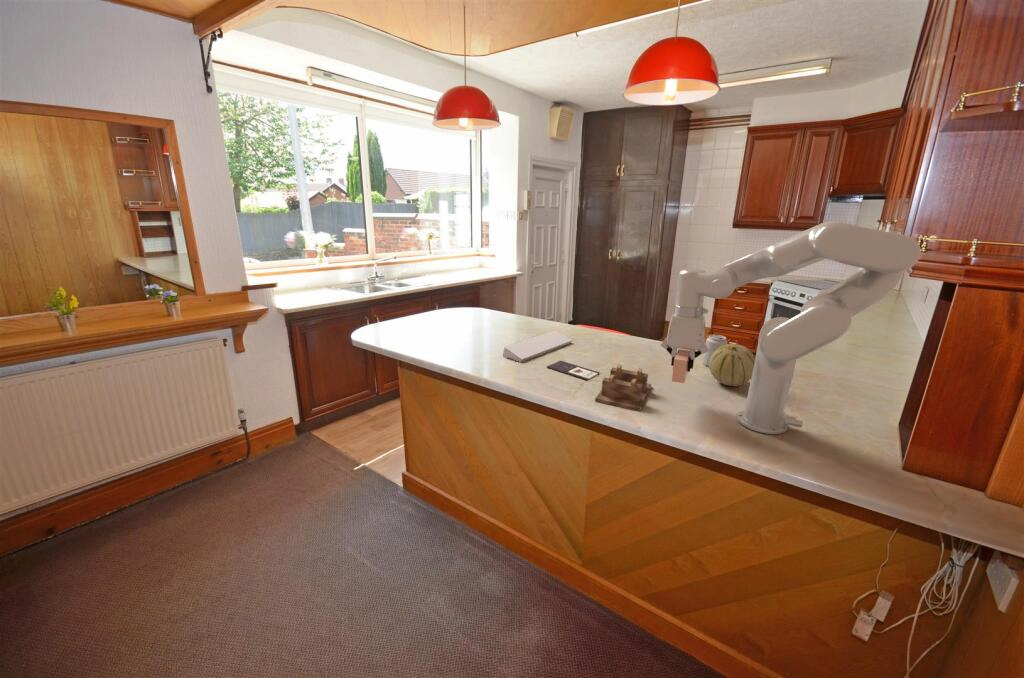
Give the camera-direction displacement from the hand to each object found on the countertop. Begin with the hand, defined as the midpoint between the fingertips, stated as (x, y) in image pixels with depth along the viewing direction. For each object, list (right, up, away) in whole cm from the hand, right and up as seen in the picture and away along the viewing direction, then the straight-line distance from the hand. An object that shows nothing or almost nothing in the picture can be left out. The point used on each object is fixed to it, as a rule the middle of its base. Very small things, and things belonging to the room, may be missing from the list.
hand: (681, 368), depth 128 cm
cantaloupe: (+25, -7, +20) cm, 32 cm away
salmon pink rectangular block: (0, -1, 0) cm, 1 cm away
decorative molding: (-41, +4, +53) cm, 67 cm away
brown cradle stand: (-15, -9, +11) cm, 21 cm away
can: (+27, -1, +36) cm, 46 cm away
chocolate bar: (-29, -4, +30) cm, 42 cm away
